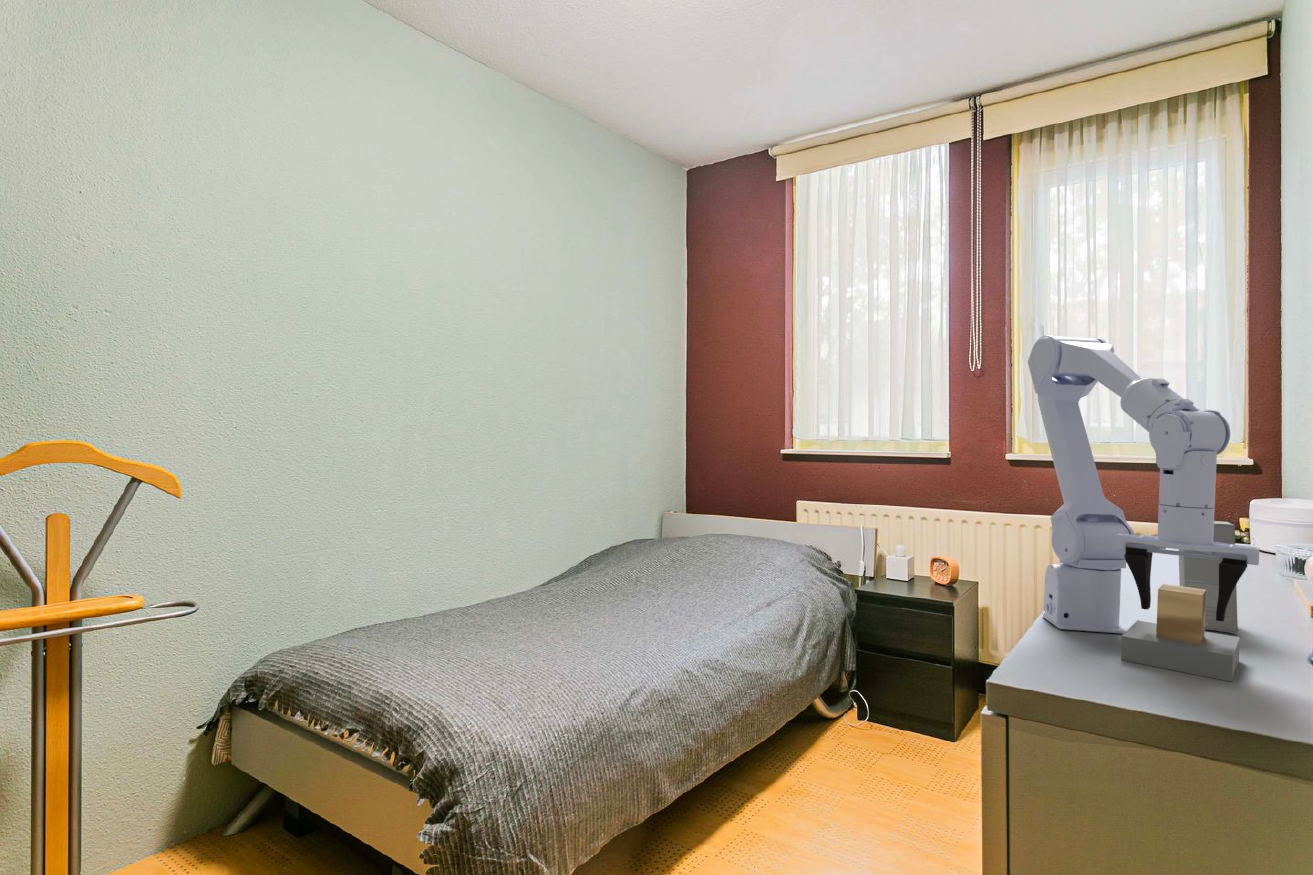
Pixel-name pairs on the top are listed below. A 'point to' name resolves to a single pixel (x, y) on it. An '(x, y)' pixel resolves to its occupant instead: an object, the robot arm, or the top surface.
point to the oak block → (1181, 613)
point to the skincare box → (1211, 580)
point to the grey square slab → (1182, 652)
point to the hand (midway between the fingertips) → (1181, 613)
